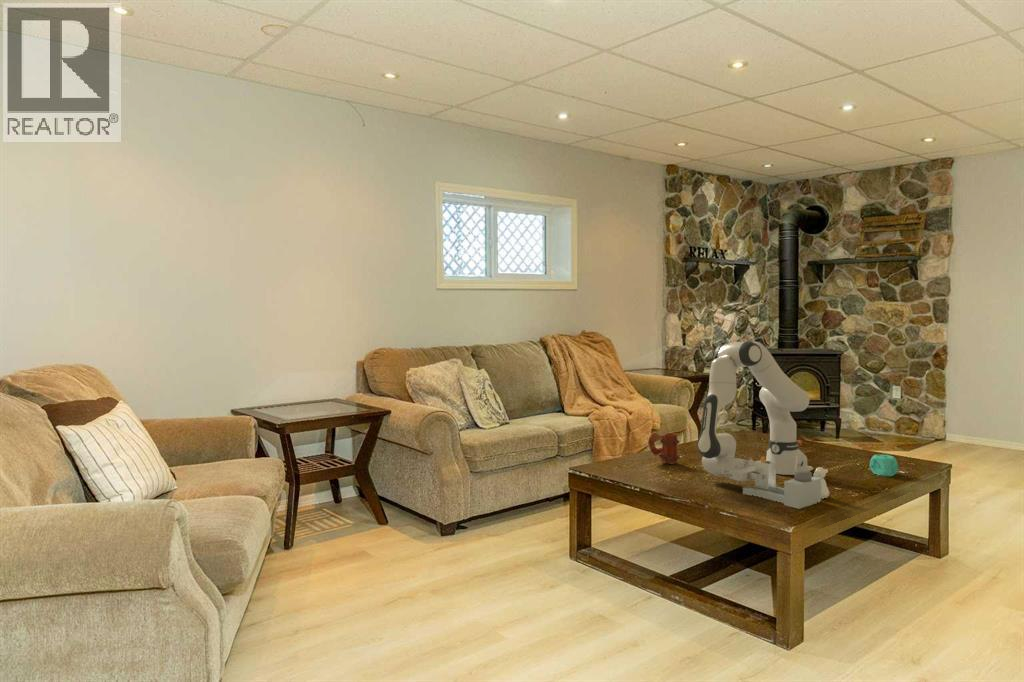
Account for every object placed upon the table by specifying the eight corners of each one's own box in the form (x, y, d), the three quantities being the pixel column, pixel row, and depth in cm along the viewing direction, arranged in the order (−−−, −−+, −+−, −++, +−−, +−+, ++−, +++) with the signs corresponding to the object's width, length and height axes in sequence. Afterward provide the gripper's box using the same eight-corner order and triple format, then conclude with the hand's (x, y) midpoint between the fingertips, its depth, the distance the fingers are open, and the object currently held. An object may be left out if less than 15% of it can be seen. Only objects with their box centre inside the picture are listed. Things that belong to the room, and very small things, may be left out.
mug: (678, 461, 325) (678, 430, 325) (681, 465, 317) (681, 434, 317) (647, 461, 327) (647, 430, 326) (649, 465, 319) (649, 433, 318)
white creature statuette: (816, 492, 272) (817, 462, 271) (836, 497, 264) (836, 467, 263) (800, 495, 267) (801, 465, 266) (820, 501, 259) (820, 470, 259)
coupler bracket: (762, 487, 279) (763, 458, 278) (820, 501, 259) (821, 470, 258) (740, 493, 270) (741, 464, 270) (798, 508, 250) (799, 476, 250)
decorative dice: (885, 477, 294) (885, 459, 293) (869, 473, 301) (869, 455, 301) (898, 475, 297) (898, 457, 296) (882, 471, 304) (882, 453, 304)
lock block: (762, 489, 274) (762, 455, 273) (775, 492, 269) (776, 458, 268) (754, 491, 271) (755, 457, 270) (768, 494, 266) (768, 459, 265)
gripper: (721, 465, 273) (751, 472, 262) (752, 458, 285) (782, 464, 274) (721, 480, 274) (751, 488, 263) (752, 473, 286) (781, 479, 275)
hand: (767, 476), depth 269 cm, fingers closed on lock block, 5 cm apart
